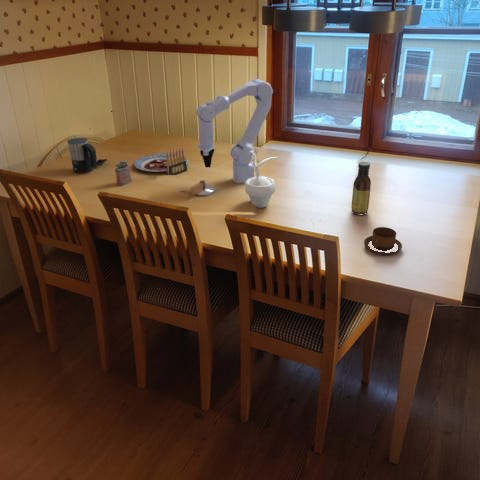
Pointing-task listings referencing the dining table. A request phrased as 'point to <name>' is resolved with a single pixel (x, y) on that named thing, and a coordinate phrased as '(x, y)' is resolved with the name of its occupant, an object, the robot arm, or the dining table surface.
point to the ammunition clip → (176, 162)
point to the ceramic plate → (153, 163)
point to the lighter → (123, 173)
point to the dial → (202, 189)
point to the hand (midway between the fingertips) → (208, 166)
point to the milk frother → (83, 155)
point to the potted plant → (259, 185)
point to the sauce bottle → (361, 189)
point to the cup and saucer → (383, 240)
